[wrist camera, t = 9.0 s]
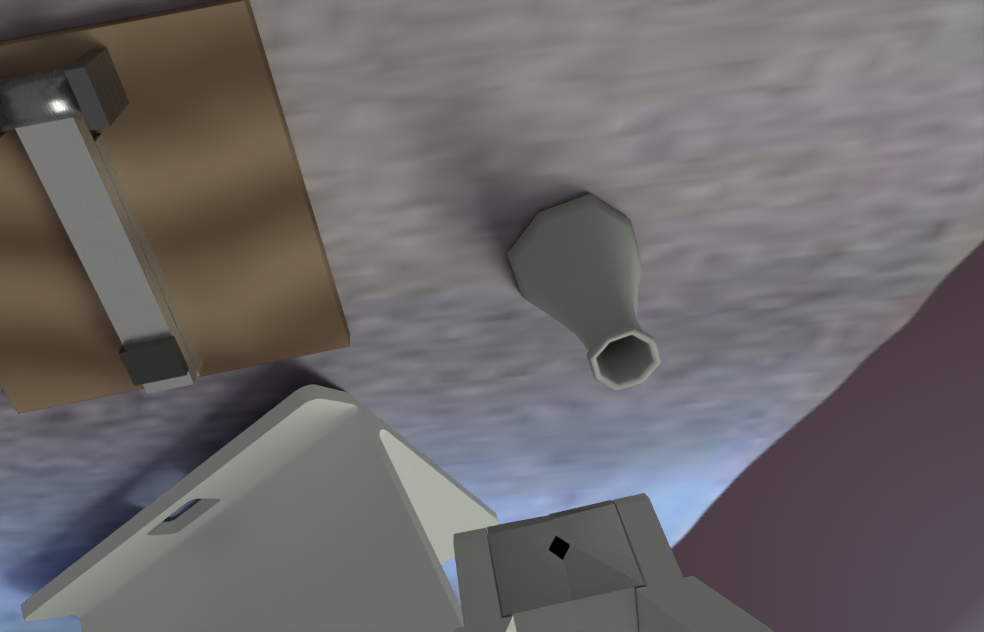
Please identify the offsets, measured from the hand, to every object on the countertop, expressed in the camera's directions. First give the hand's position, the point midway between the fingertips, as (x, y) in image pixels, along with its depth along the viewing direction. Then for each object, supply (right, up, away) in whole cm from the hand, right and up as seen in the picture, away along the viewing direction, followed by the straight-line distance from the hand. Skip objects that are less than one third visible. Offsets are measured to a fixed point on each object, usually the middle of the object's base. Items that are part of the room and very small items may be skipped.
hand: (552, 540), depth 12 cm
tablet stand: (-16, -12, +40) cm, 45 cm away
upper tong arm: (-19, +7, +25) cm, 32 cm away
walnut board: (-19, +8, +26) cm, 34 cm away
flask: (+4, +7, +31) cm, 32 cm away
